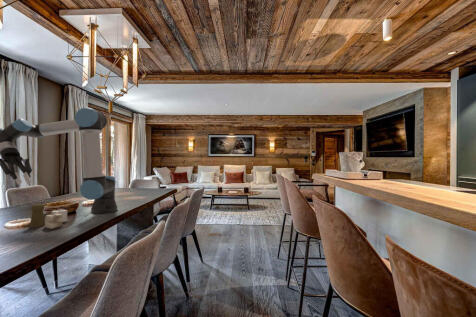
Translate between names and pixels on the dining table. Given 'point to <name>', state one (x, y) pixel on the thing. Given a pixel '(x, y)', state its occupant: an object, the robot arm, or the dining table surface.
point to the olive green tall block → (37, 216)
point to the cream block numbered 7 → (64, 212)
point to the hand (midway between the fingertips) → (24, 182)
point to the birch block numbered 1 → (53, 220)
